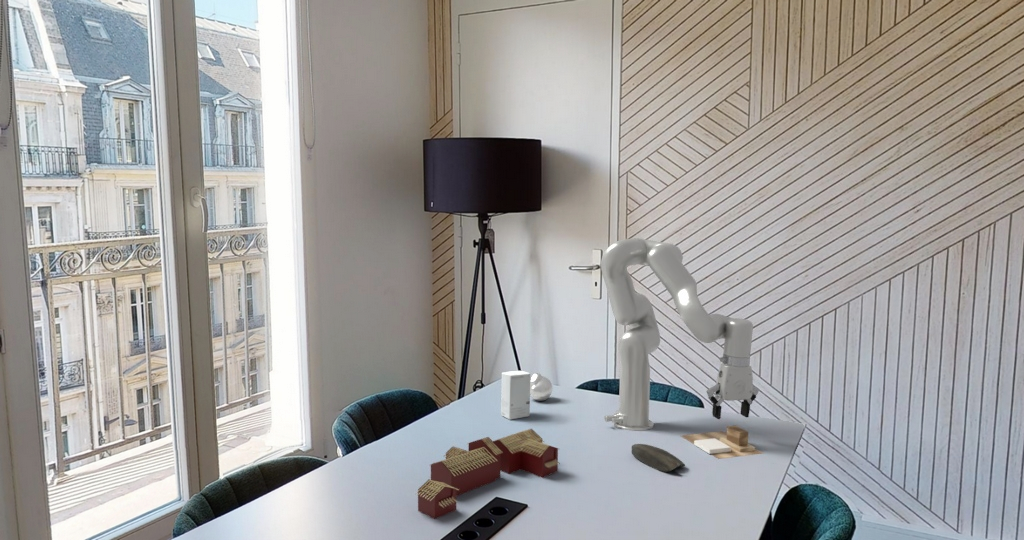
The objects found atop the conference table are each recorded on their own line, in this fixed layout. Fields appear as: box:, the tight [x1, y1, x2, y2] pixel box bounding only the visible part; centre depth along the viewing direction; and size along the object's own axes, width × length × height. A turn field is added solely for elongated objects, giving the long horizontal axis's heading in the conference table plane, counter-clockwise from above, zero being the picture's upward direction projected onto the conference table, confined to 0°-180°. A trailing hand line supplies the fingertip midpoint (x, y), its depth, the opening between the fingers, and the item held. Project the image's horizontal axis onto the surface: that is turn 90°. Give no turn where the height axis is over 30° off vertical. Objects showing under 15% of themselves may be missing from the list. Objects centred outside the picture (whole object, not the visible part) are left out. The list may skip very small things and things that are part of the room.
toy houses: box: [415, 428, 560, 519], centre depth 181 cm, size 45×20×10 cm, turn 136°
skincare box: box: [500, 370, 531, 421], centre depth 237 cm, size 8×6×15 cm
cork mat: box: [680, 430, 763, 460], centre depth 210 cm, size 15×20×1 cm
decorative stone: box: [631, 443, 686, 472], centre depth 196 cm, size 17×6×4 cm, turn 35°
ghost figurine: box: [530, 372, 554, 402], centre depth 256 cm, size 9×9×10 cm
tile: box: [693, 438, 731, 455], centre depth 206 cm, size 7×1×8 cm
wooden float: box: [720, 425, 756, 452], centre depth 209 cm, size 5×10×5 cm, turn 18°
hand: (730, 416), depth 211 cm, fingers open, 9 cm apart
